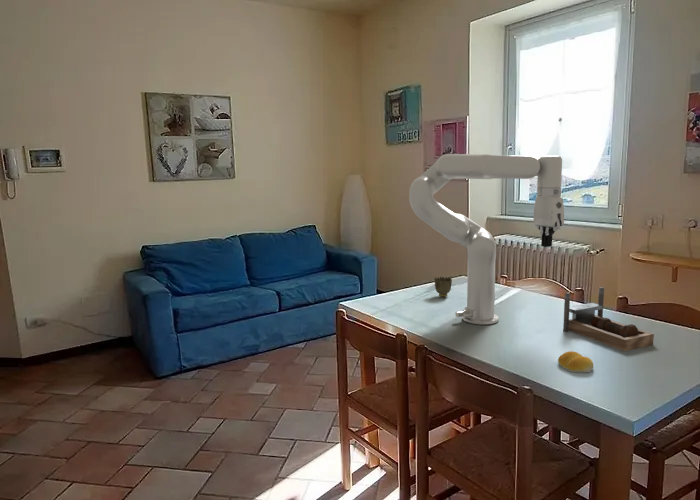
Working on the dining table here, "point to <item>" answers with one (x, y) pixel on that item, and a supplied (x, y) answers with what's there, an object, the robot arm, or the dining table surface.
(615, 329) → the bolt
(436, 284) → the cup
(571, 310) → the gate
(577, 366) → the bread roll
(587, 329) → the cradle
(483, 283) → the robot arm
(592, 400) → the dining table surface
